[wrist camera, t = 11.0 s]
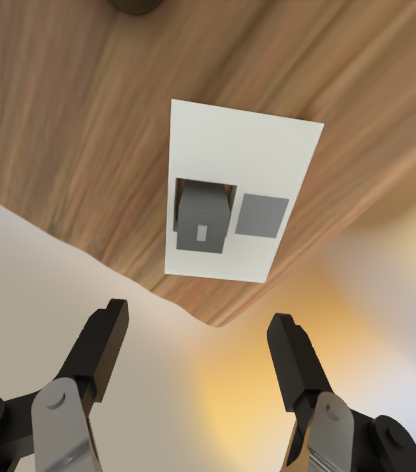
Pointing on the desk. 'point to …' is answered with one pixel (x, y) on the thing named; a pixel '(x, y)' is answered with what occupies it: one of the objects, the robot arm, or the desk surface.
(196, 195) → the charger
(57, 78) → the desk surface
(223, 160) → the outlet plate
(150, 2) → the supplement bottle
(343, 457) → the robot arm
